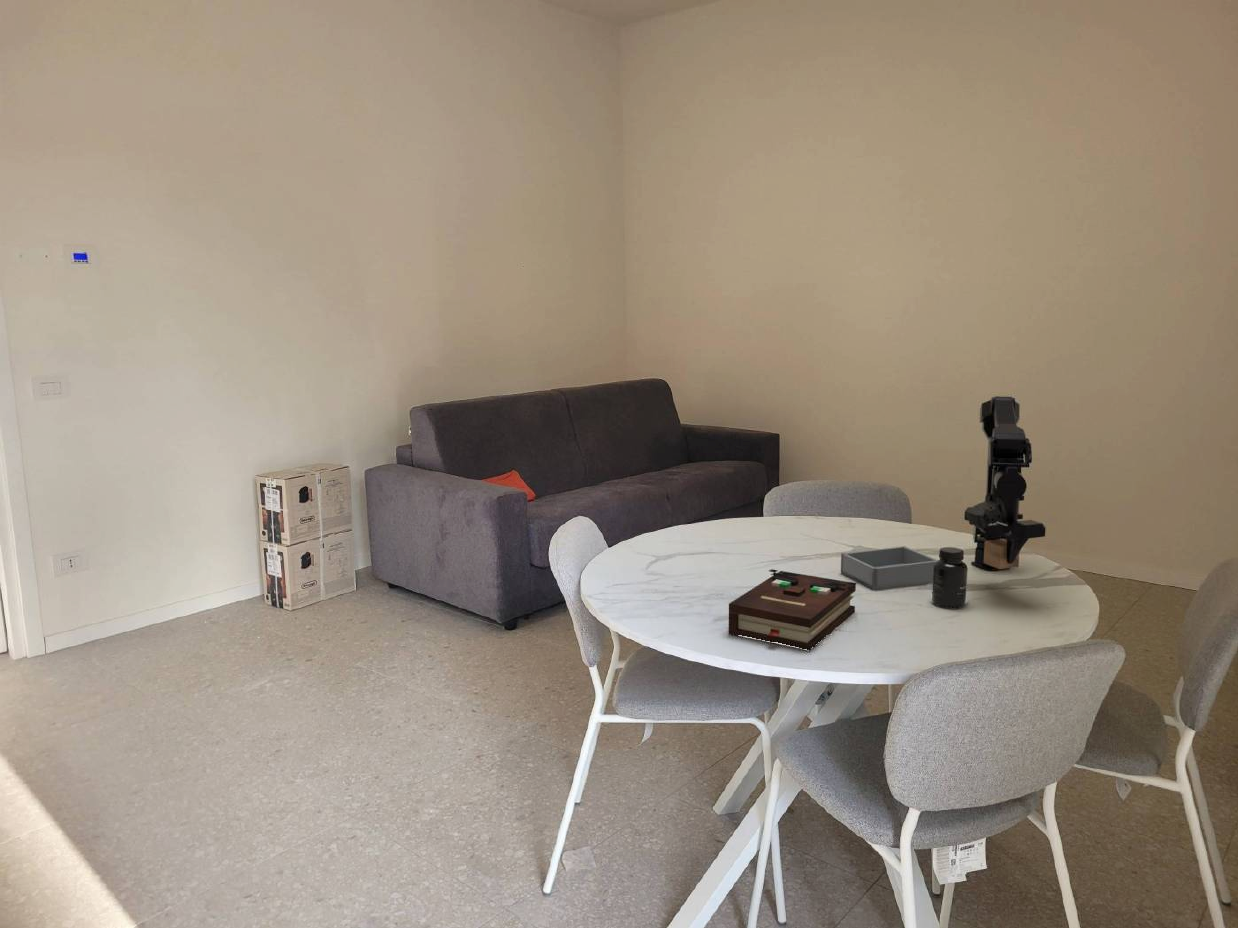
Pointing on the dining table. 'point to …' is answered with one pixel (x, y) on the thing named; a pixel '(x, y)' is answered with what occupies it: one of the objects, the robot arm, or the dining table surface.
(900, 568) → the tote
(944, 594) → the supplement bottle
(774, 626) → the decorative book
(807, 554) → the dining table surface
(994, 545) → the walnut cube
